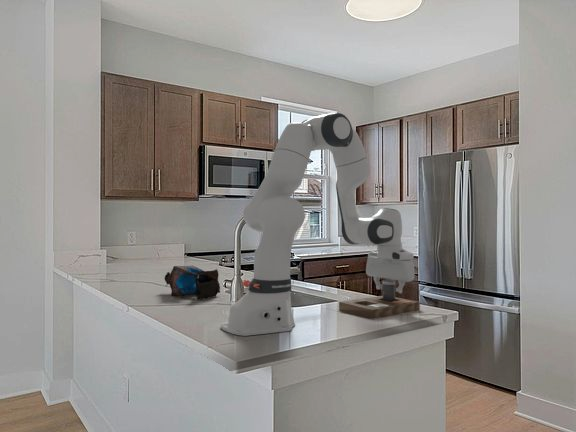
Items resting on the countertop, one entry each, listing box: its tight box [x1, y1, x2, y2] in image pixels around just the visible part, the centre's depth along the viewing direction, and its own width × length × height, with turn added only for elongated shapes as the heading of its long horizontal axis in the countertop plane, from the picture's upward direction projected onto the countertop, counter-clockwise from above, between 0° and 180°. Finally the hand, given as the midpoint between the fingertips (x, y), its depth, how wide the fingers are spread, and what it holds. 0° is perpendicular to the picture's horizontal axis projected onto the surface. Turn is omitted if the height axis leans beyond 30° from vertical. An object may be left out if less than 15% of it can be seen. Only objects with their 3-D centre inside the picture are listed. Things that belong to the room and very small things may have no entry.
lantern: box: [164, 265, 221, 301], centre depth 186 cm, size 16×16×25 cm
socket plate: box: [338, 295, 421, 320], centre depth 160 cm, size 24×16×3 cm, turn 126°
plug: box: [382, 279, 396, 302], centre depth 164 cm, size 5×5×10 cm
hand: (388, 291), depth 164 cm, fingers open, 8 cm apart
